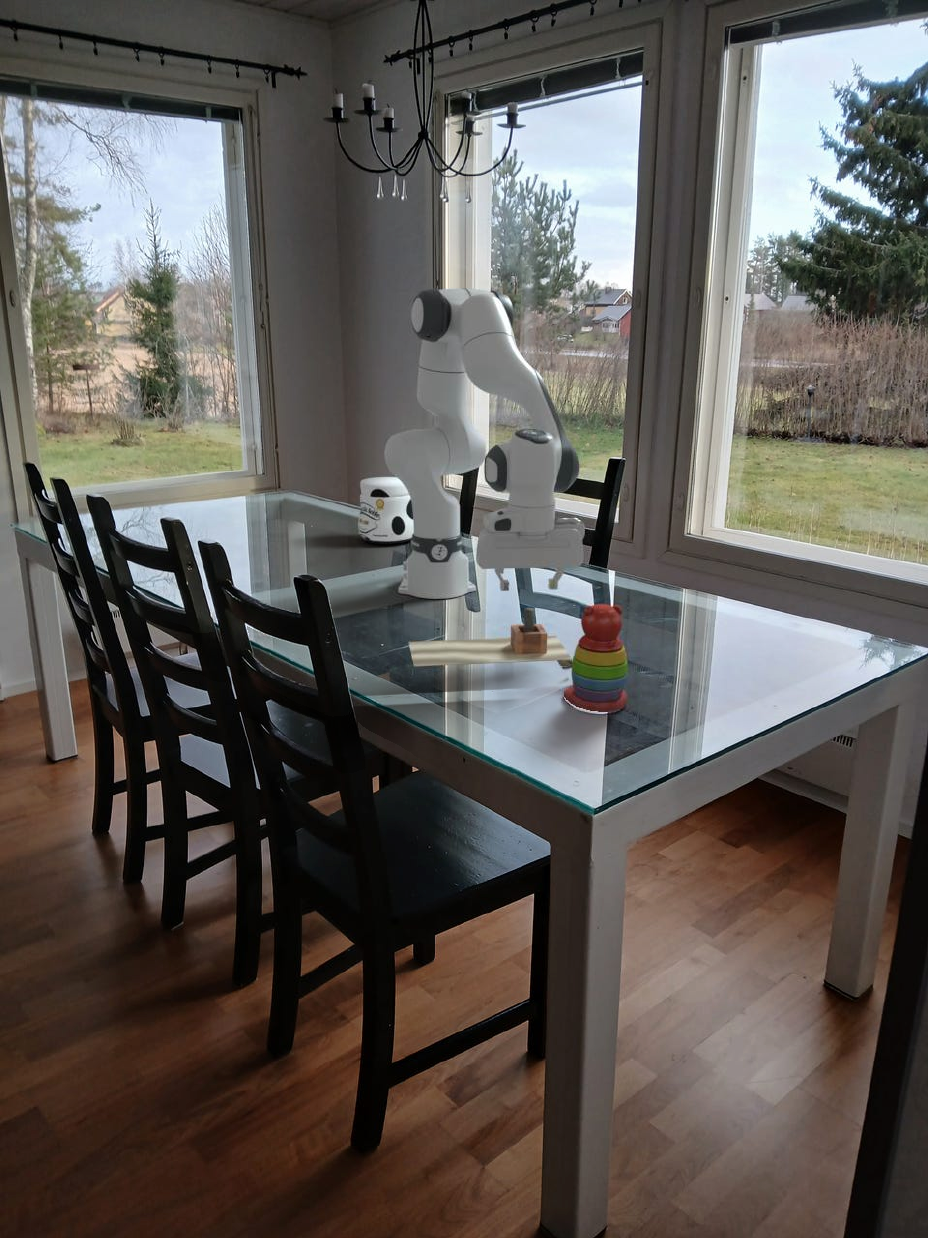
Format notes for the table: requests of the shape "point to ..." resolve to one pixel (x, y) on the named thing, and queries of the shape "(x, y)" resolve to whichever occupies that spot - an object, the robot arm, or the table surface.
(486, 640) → the board
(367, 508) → the milk container
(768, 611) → the table surface
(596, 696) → the stacking bear
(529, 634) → the bead
